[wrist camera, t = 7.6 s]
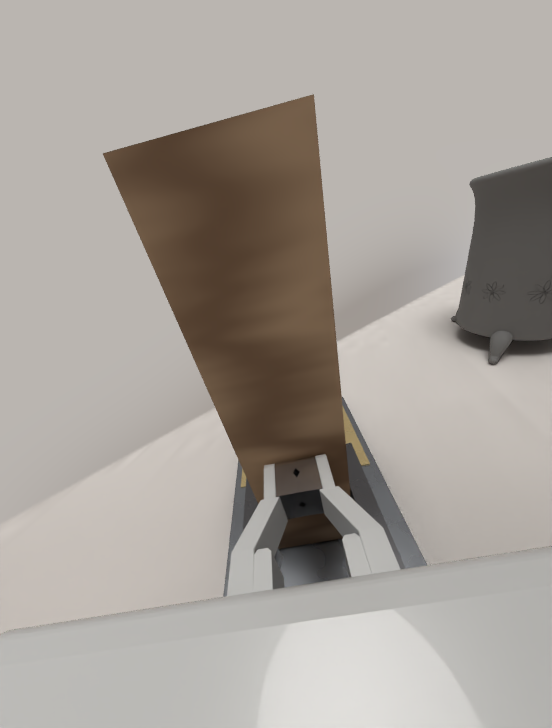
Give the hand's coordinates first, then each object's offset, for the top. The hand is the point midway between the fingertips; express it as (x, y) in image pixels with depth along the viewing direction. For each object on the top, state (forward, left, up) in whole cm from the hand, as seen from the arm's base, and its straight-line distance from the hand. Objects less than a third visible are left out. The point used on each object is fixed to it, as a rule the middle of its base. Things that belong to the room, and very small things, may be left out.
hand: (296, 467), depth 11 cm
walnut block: (0, -3, -8) cm, 8 cm away
